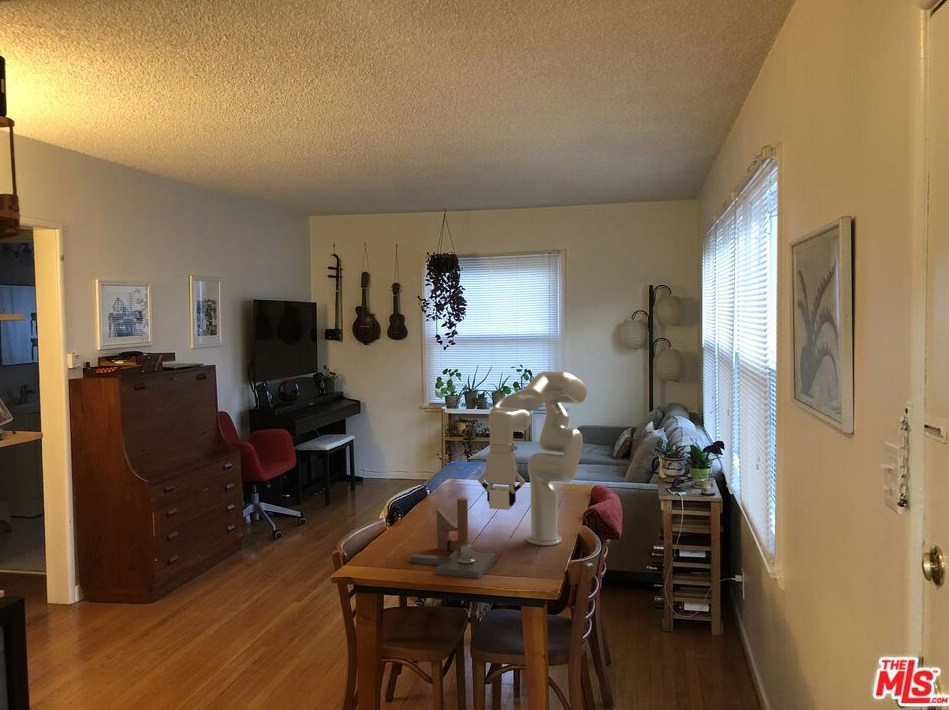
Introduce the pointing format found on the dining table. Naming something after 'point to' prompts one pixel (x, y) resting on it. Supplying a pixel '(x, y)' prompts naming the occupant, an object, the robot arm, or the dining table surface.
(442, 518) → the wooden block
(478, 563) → the tang block
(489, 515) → the dining table surface
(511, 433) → the robot arm
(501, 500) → the socket
